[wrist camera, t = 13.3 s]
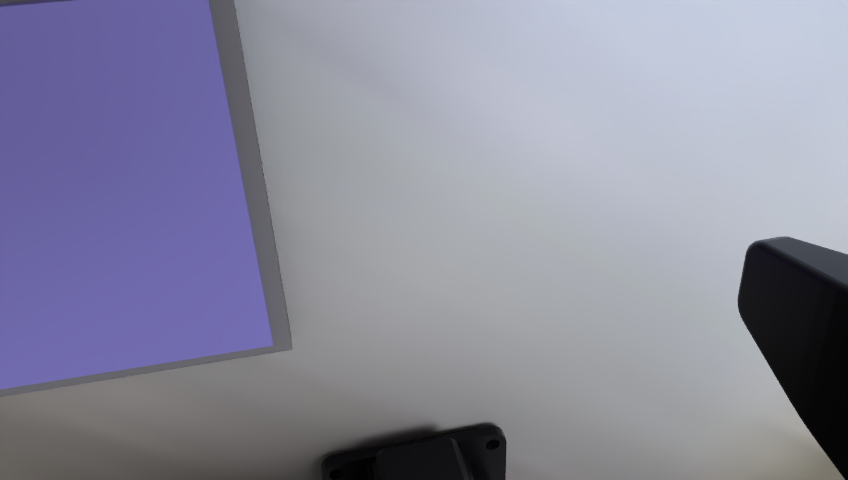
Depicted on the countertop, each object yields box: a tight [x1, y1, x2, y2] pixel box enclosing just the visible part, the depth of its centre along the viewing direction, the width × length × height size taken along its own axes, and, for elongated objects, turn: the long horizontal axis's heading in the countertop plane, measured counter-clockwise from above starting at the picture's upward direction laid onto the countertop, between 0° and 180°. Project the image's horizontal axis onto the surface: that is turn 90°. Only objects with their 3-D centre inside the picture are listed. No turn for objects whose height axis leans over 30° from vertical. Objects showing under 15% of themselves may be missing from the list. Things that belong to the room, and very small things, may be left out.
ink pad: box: [0, 0, 292, 397], centre depth 18 cm, size 11×11×1 cm
